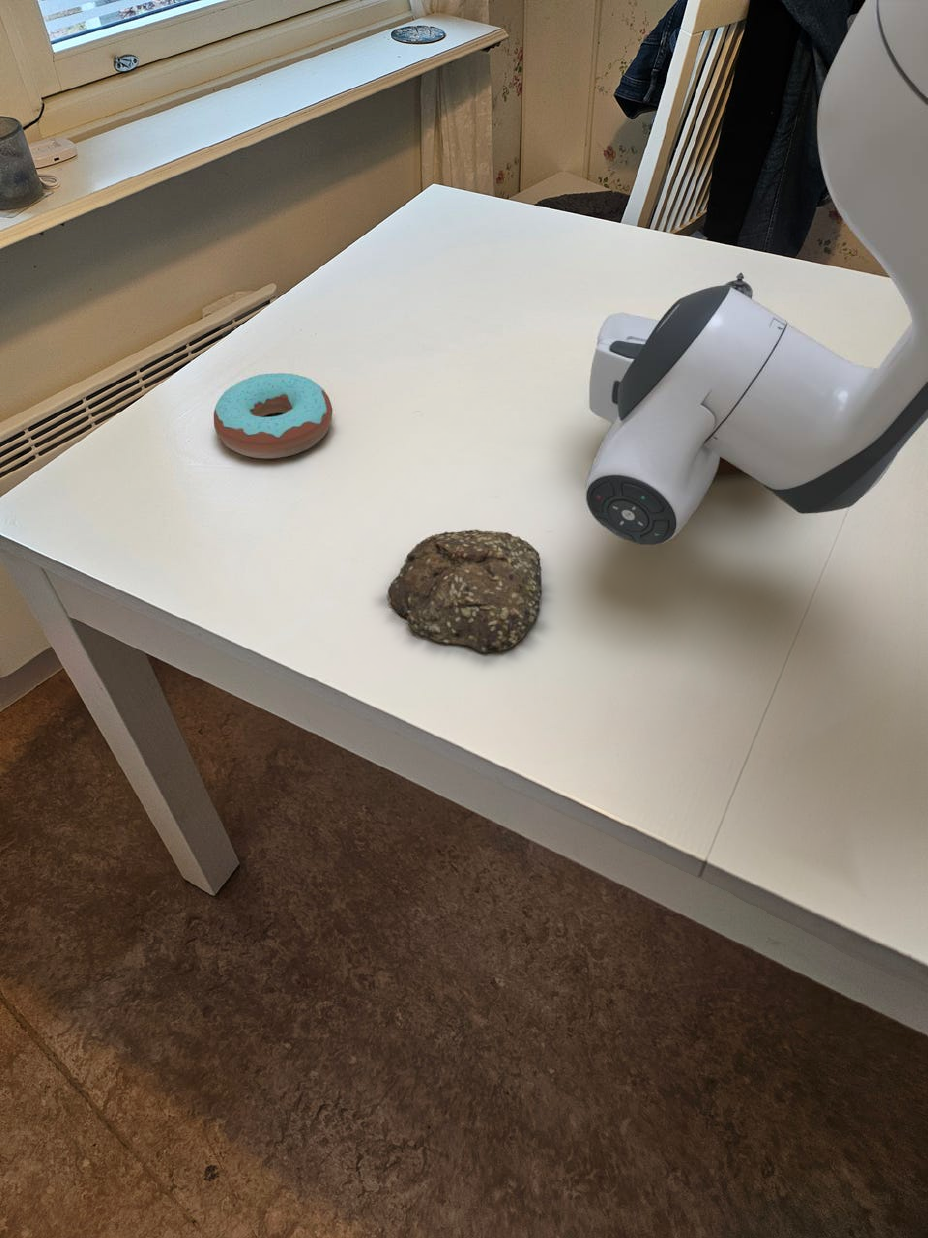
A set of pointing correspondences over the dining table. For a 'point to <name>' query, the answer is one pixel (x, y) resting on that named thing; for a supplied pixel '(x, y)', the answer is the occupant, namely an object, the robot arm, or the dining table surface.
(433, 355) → the dining table surface
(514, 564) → the bread roll
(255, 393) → the donut
